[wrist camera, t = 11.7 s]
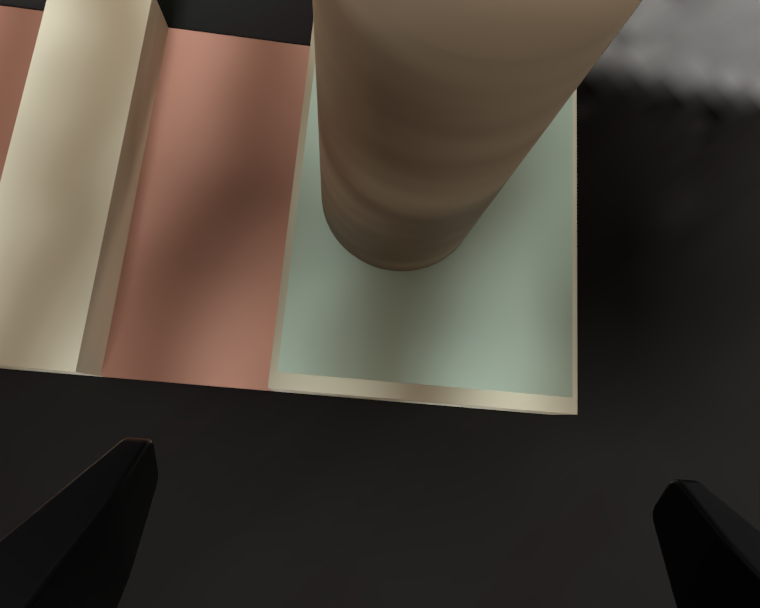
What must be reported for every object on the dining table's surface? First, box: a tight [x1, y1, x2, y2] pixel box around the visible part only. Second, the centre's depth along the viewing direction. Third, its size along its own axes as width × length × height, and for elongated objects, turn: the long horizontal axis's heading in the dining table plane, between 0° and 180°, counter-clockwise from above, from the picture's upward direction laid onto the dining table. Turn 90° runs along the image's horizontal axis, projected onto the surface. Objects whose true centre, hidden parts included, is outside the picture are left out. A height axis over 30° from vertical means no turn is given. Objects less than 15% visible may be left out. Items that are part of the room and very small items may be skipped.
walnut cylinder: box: [313, 0, 642, 271], centre depth 12 cm, size 5×5×10 cm
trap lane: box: [0, 0, 577, 415], centre depth 17 cm, size 33×13×2 cm, turn 85°
